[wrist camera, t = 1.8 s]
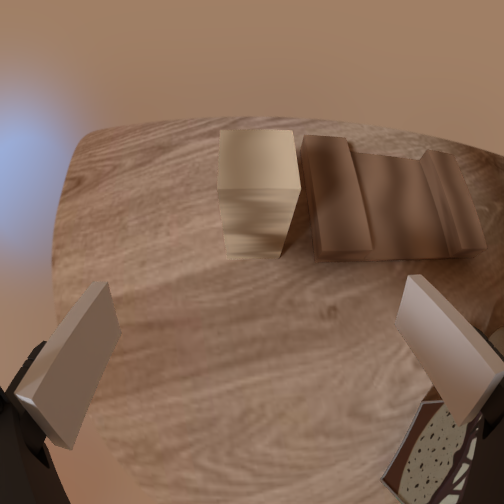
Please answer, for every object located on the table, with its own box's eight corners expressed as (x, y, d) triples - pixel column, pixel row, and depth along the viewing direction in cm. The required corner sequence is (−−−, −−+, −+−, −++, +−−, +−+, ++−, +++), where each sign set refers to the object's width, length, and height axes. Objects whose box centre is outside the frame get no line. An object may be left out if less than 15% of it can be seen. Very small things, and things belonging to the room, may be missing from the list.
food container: (412, 499, 18) (463, 529, 9) (372, 491, 19) (420, 530, 10) (461, 403, 23) (524, 404, 13) (427, 388, 24) (492, 388, 14)
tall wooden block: (276, 212, 30) (292, 130, 19) (279, 258, 28) (301, 188, 17) (227, 213, 30) (220, 130, 19) (227, 259, 28) (217, 189, 17)
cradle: (443, 166, 34) (453, 154, 31) (473, 257, 29) (487, 248, 26) (300, 151, 33) (304, 134, 31) (314, 262, 28) (322, 251, 25)
